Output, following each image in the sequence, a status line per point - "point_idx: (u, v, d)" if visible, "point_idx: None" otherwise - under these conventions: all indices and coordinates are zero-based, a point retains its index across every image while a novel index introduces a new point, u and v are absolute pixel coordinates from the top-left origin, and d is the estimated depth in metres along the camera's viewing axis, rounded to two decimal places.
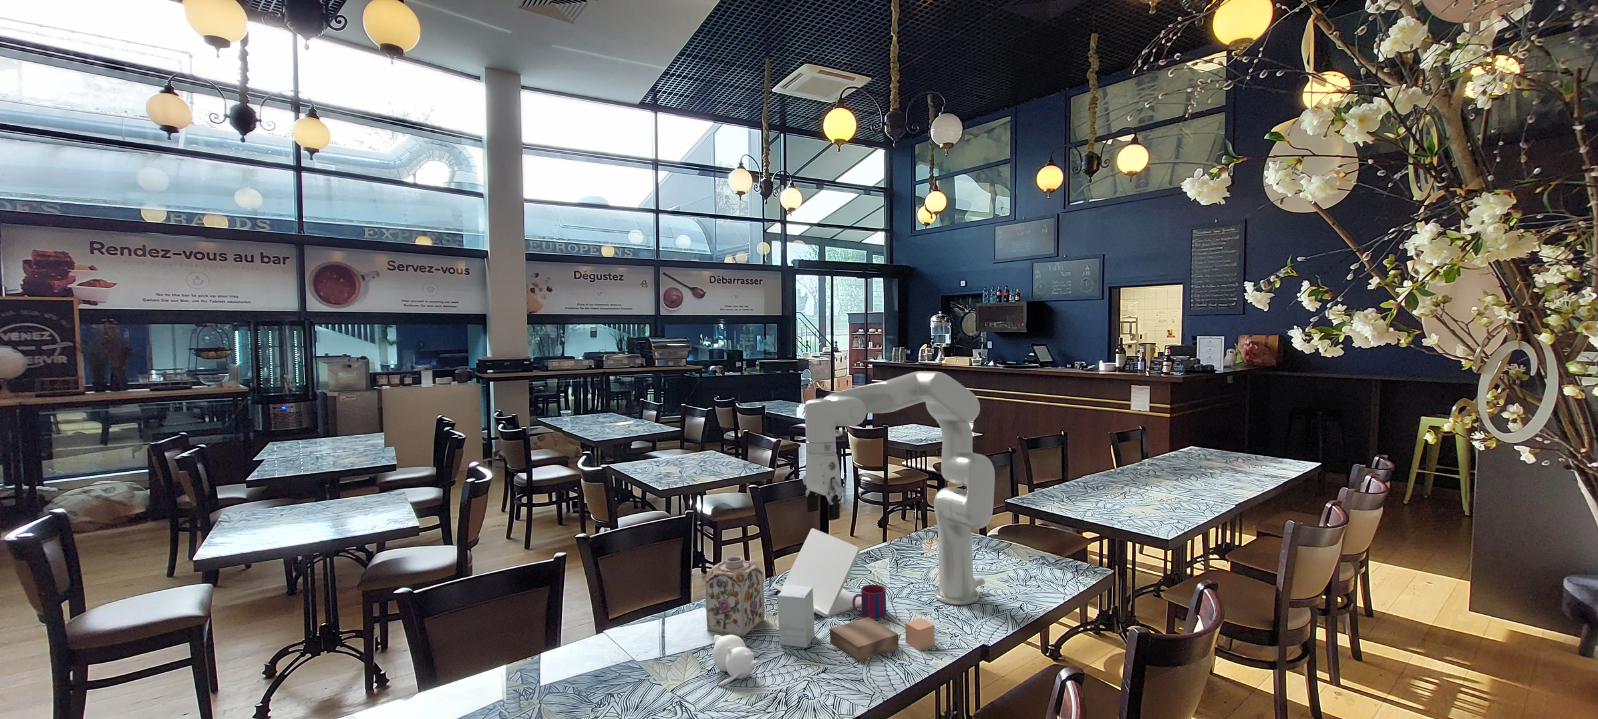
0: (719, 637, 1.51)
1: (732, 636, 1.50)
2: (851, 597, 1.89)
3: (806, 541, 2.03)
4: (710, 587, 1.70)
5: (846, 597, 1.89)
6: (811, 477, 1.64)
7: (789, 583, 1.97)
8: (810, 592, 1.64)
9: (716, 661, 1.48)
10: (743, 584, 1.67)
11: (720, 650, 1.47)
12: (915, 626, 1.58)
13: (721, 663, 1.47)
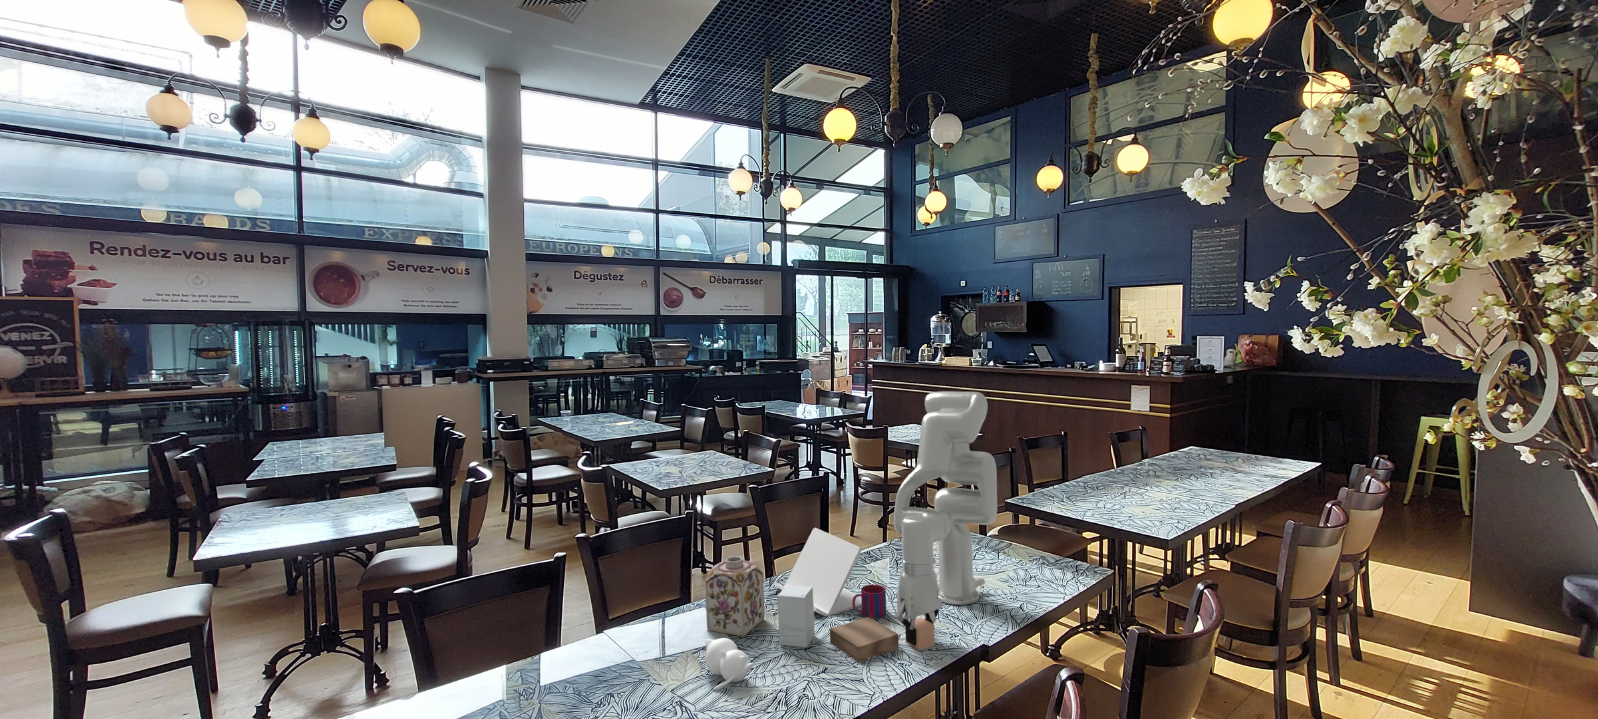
0: (711, 641, 1.49)
1: (725, 639, 1.49)
2: (852, 596, 1.89)
3: (808, 540, 2.03)
4: (710, 587, 1.70)
5: (847, 597, 1.89)
6: (921, 600, 1.57)
7: (791, 582, 1.98)
8: (810, 592, 1.64)
9: (709, 665, 1.46)
10: (743, 584, 1.67)
11: (714, 654, 1.46)
12: (915, 626, 1.58)
13: (714, 667, 1.45)
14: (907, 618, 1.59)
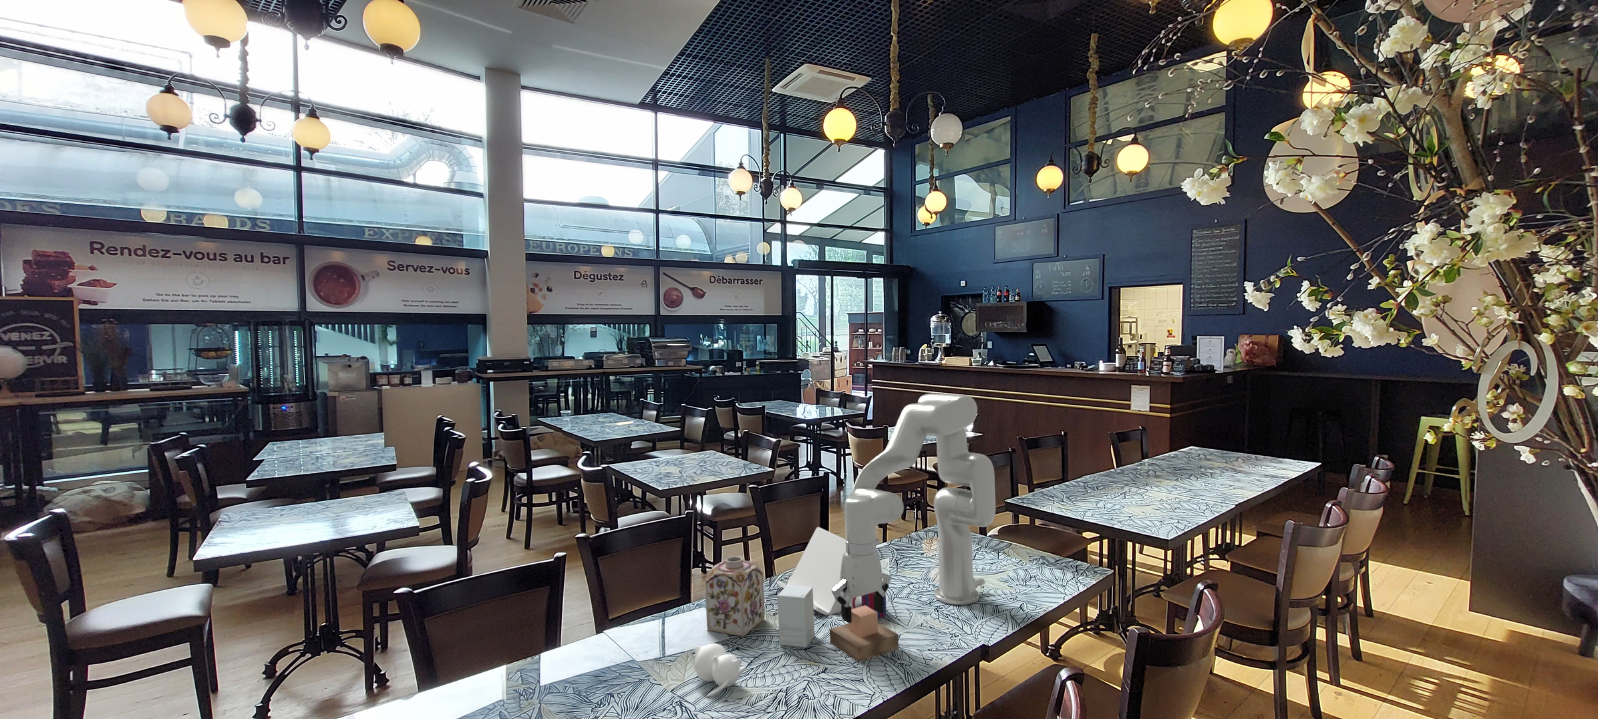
0: (700, 647, 1.46)
1: (714, 645, 1.46)
2: None
3: (811, 540, 2.04)
4: (710, 587, 1.70)
5: None
6: (864, 580, 1.57)
7: (794, 581, 1.99)
8: (810, 592, 1.64)
9: (700, 672, 1.43)
10: (743, 584, 1.67)
11: (705, 660, 1.43)
12: (858, 614, 1.58)
13: (706, 674, 1.43)
14: (844, 596, 1.58)
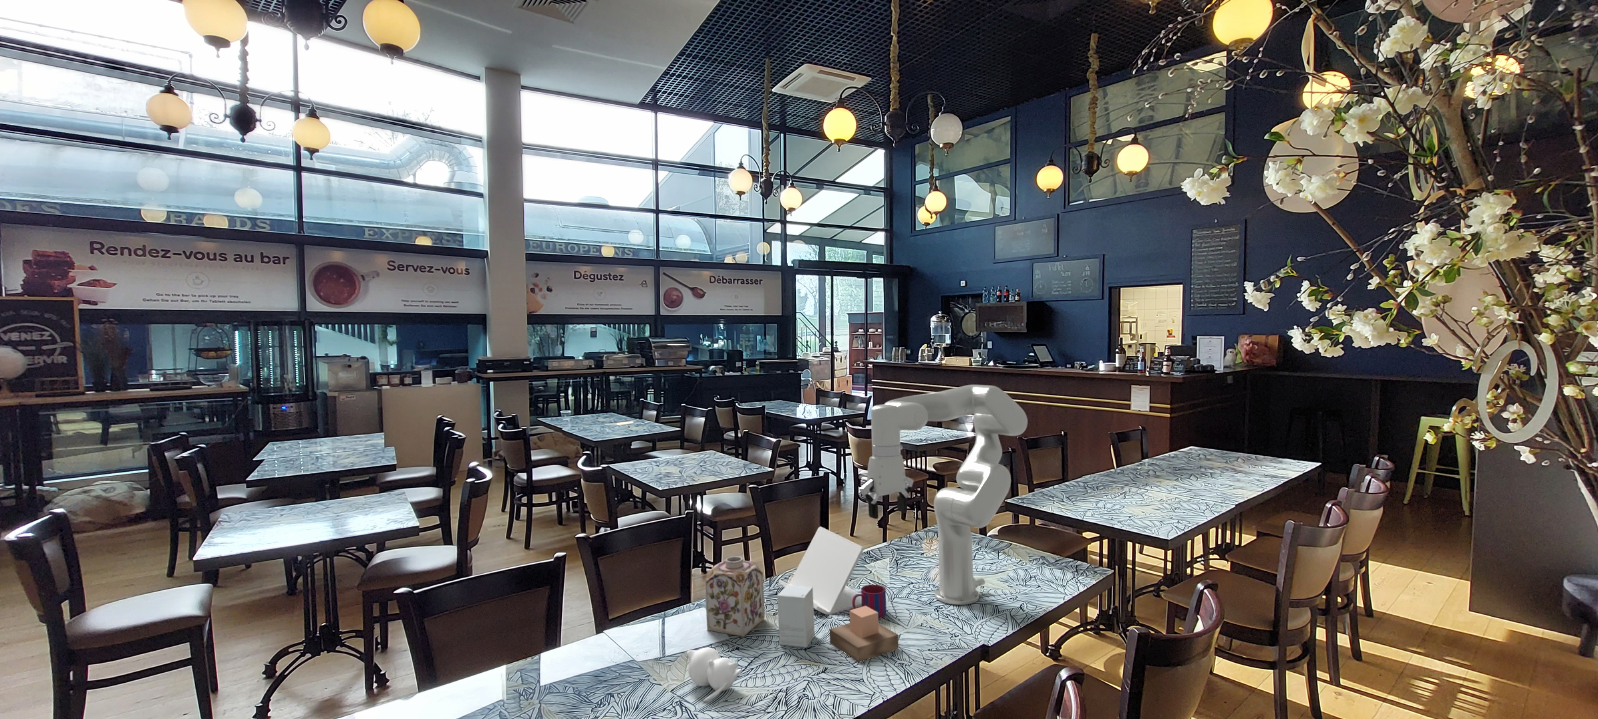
0: (693, 652, 1.44)
1: (708, 649, 1.44)
2: None
3: (813, 539, 2.04)
4: (710, 587, 1.70)
5: (850, 596, 1.90)
6: (889, 480, 1.71)
7: (796, 580, 1.99)
8: (810, 592, 1.64)
9: (695, 677, 1.41)
10: (743, 584, 1.67)
11: (700, 665, 1.41)
12: (859, 614, 1.58)
13: (701, 678, 1.41)
14: (871, 495, 1.72)
